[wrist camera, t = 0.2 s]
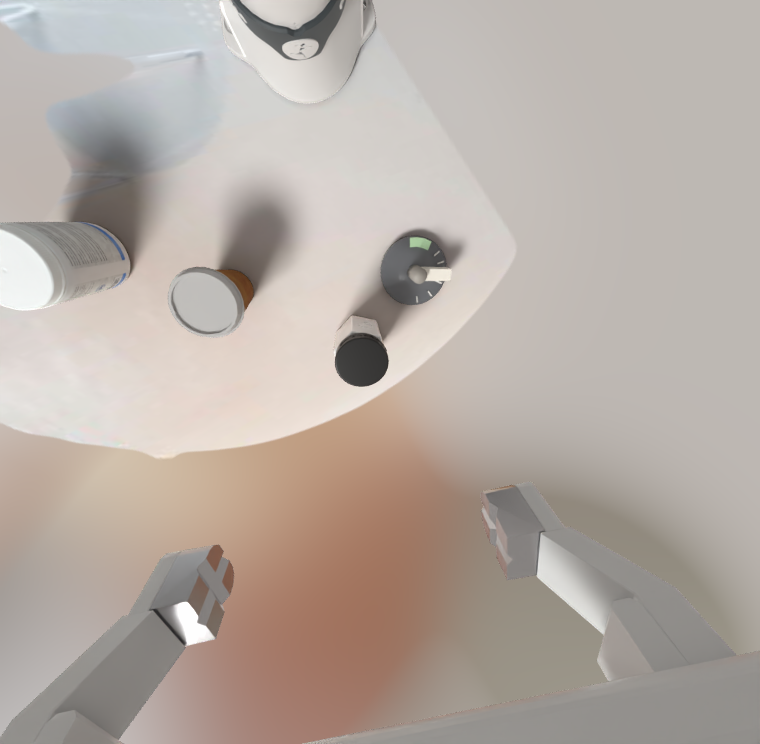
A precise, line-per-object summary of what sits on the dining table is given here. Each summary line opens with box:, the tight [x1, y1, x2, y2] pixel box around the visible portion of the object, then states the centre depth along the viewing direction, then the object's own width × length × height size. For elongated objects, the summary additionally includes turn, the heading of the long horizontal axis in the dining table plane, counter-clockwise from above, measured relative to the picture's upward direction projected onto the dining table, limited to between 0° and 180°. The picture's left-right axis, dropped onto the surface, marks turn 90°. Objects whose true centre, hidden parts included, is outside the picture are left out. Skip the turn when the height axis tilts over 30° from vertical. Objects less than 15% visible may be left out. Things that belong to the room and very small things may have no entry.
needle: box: [407, 265, 452, 284], centre depth 50 cm, size 6×2×4 cm, turn 89°
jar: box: [333, 315, 389, 387], centre depth 52 cm, size 9×8×12 cm
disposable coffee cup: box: [168, 267, 254, 338], centre depth 46 cm, size 10×10×12 cm
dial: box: [381, 236, 447, 305], centre depth 52 cm, size 11×11×1 cm
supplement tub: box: [0, 222, 130, 310], centre depth 41 cm, size 10×10×15 cm
